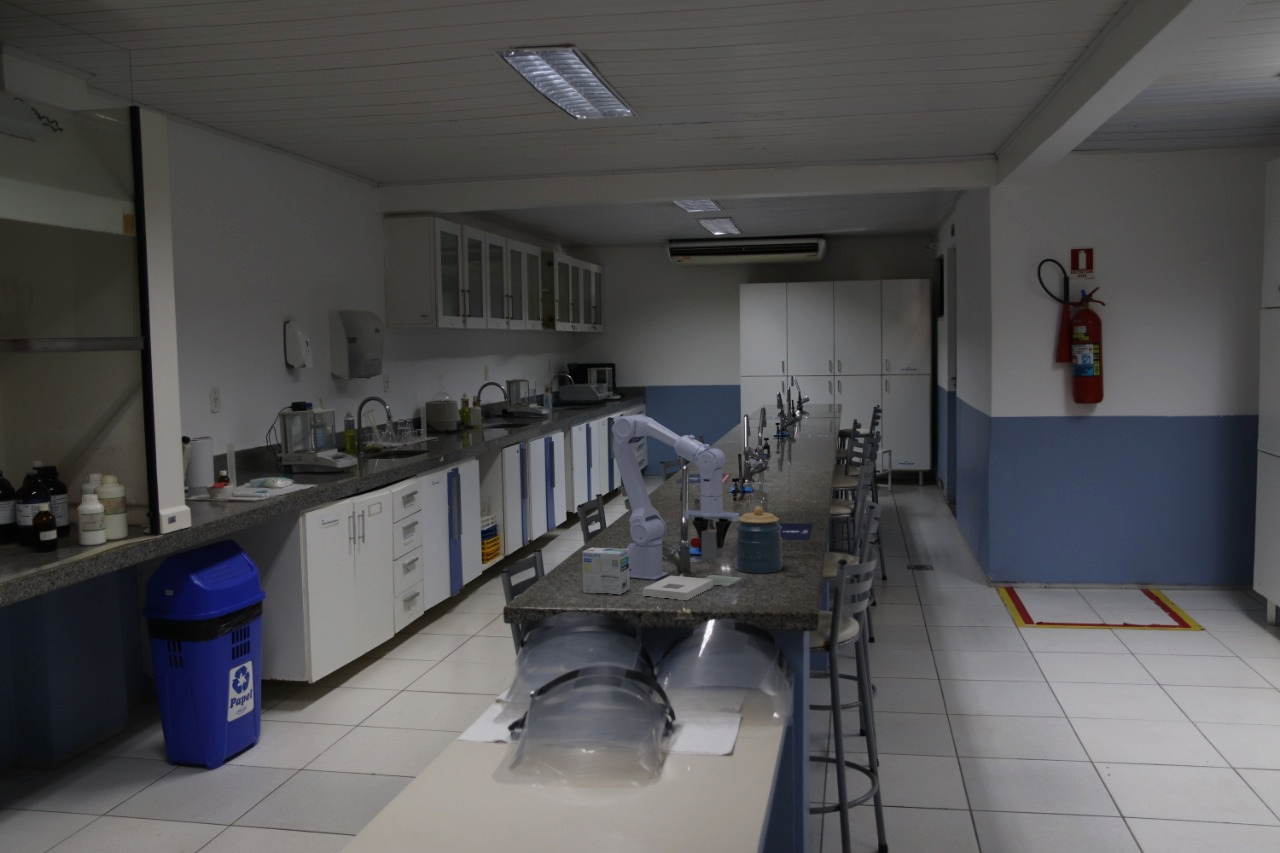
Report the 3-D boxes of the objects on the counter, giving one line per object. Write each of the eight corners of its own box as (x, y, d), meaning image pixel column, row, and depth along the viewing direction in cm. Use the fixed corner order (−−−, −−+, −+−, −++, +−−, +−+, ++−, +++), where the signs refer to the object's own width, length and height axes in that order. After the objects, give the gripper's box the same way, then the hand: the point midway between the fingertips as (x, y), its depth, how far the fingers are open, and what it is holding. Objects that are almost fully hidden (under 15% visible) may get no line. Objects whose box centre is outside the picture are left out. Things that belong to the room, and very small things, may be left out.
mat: (696, 583, 264) (696, 581, 264) (710, 576, 272) (710, 574, 272) (728, 586, 260) (728, 584, 260) (741, 579, 268) (741, 577, 268)
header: (643, 596, 251) (642, 588, 251) (671, 582, 265) (671, 575, 265) (686, 600, 246) (686, 592, 245) (713, 587, 260) (713, 579, 260)
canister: (731, 573, 276) (730, 509, 275) (740, 563, 288) (739, 502, 287) (778, 575, 272) (777, 510, 271) (785, 565, 285) (785, 503, 283)
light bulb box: (630, 589, 258) (630, 548, 258) (621, 595, 252) (620, 553, 251) (592, 587, 262) (591, 546, 261) (582, 593, 256) (581, 551, 255)
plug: (701, 558, 262) (701, 531, 262) (708, 555, 266) (707, 529, 265) (715, 559, 260) (715, 532, 260) (722, 556, 264) (721, 529, 263)
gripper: (679, 495, 262) (680, 547, 263) (731, 498, 255) (732, 551, 256) (691, 492, 268) (692, 543, 269) (742, 495, 261) (742, 546, 262)
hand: (712, 547), depth 263 cm, fingers closed on plug, 4 cm apart
